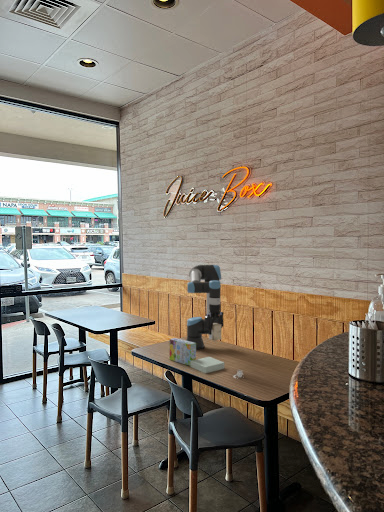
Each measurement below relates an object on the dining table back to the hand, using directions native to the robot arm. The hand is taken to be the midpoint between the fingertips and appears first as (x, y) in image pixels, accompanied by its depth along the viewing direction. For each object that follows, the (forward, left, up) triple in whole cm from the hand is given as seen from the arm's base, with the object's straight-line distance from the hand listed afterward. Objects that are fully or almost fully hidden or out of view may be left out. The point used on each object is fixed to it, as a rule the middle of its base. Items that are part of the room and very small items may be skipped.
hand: (214, 338), depth 263 cm
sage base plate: (-1, -5, -19) cm, 20 cm away
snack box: (-21, -12, -19) cm, 31 cm away
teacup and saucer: (+25, +3, -20) cm, 32 cm away
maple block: (0, 0, 0) cm, 1 cm away
